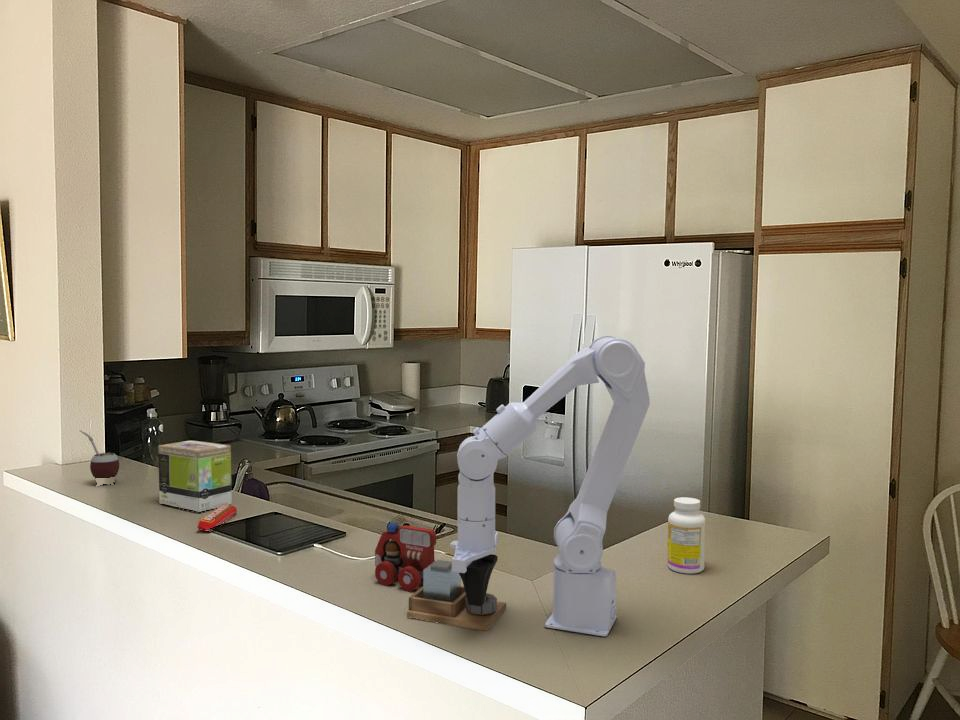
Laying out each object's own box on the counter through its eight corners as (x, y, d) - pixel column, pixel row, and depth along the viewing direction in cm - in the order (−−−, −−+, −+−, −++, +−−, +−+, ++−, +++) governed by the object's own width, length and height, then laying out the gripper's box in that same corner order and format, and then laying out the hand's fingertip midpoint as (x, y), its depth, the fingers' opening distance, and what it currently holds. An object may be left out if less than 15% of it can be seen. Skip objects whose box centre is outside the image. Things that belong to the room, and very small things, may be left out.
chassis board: (506, 608, 124) (506, 585, 124) (486, 630, 116) (486, 605, 116) (430, 597, 129) (431, 574, 129) (406, 617, 120) (406, 593, 120)
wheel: (500, 605, 122) (500, 595, 122) (489, 616, 118) (490, 605, 118) (472, 601, 124) (472, 591, 124) (461, 611, 119) (461, 601, 119)
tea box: (233, 505, 187) (232, 444, 186) (198, 514, 179) (197, 450, 178) (193, 496, 195) (191, 438, 194) (157, 505, 187) (156, 444, 186)
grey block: (460, 601, 125) (460, 560, 124) (449, 611, 121) (449, 569, 120) (435, 597, 126) (434, 557, 126) (423, 607, 122) (423, 566, 122)
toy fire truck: (390, 570, 142) (390, 514, 141) (446, 583, 136) (446, 524, 135) (365, 581, 136) (365, 523, 136) (422, 595, 130) (422, 534, 129)
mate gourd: (125, 482, 210) (124, 427, 209) (102, 488, 202) (100, 431, 201) (104, 480, 212) (103, 425, 211) (80, 486, 205) (78, 430, 204)
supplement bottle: (679, 560, 148) (681, 493, 147) (711, 568, 143) (713, 500, 142) (660, 568, 143) (661, 500, 142) (692, 577, 139) (694, 506, 138)
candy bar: (212, 535, 164) (211, 521, 164) (195, 534, 164) (194, 520, 164) (239, 514, 180) (239, 501, 180) (224, 514, 180) (223, 501, 180)
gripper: (469, 502, 126) (469, 584, 127) (432, 526, 112) (432, 617, 113) (510, 506, 123) (510, 590, 124) (478, 531, 110) (477, 625, 111)
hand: (476, 603), depth 119 cm, fingers closed, pressing on wheel
